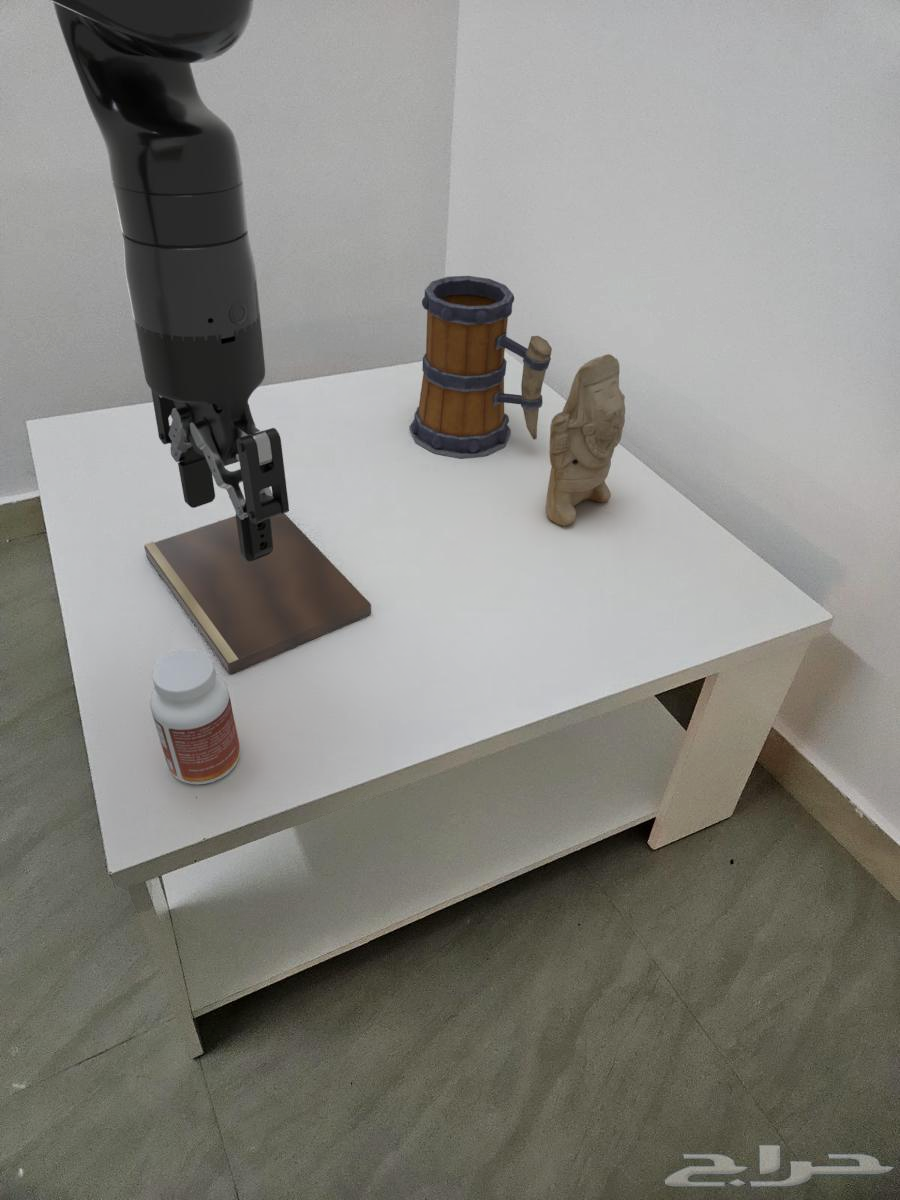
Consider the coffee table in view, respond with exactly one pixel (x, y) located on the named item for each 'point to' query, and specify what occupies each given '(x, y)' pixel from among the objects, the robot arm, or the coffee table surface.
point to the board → (255, 590)
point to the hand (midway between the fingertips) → (228, 528)
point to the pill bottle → (194, 717)
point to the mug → (473, 369)
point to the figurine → (585, 439)
